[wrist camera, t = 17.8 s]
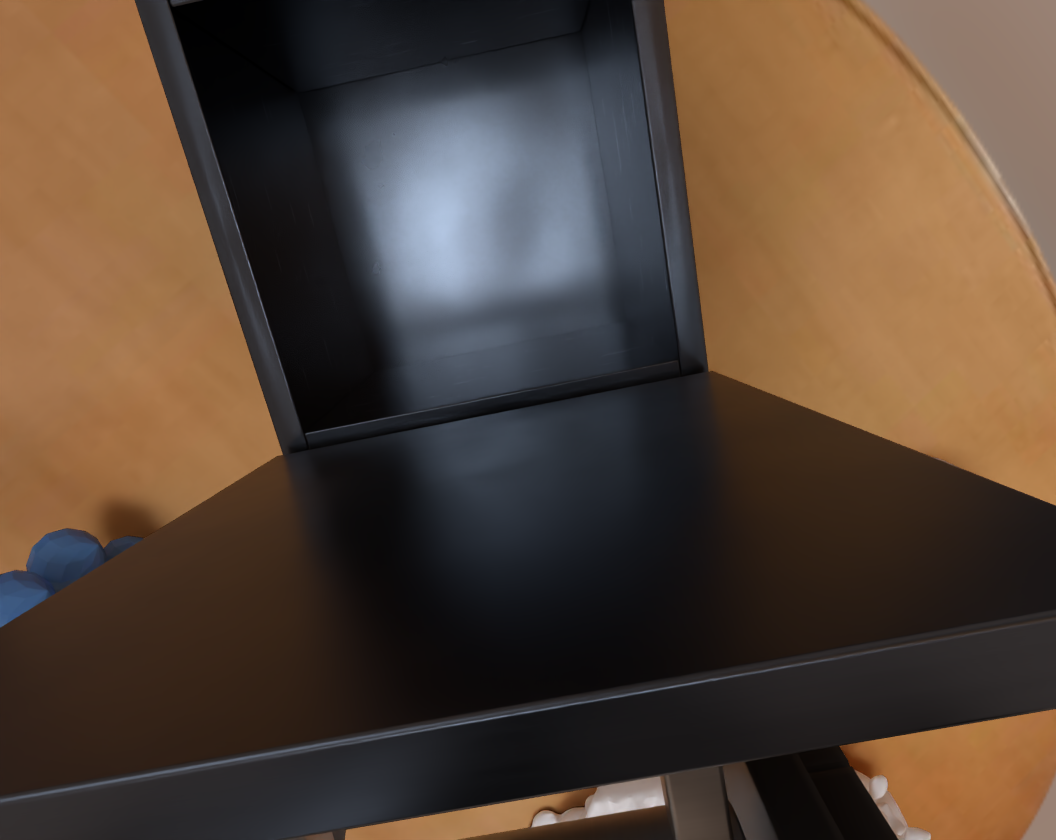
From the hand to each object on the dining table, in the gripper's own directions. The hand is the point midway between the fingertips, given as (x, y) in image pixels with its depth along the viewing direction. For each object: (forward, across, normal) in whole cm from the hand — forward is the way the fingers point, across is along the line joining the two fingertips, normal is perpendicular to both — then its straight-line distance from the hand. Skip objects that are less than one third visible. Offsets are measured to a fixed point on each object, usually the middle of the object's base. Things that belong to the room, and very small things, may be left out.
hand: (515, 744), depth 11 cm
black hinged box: (+18, 0, -10) cm, 21 cm away
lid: (+2, 0, -4) cm, 5 cm away
